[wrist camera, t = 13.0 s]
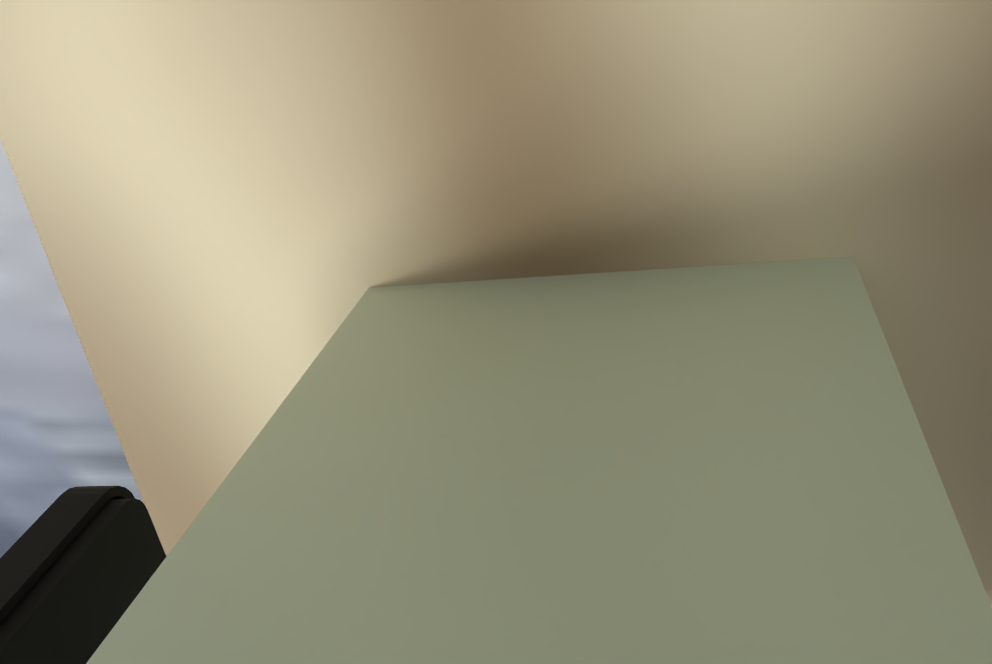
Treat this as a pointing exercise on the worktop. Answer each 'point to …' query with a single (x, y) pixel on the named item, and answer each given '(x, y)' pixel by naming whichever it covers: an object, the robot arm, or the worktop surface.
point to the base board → (487, 183)
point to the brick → (582, 488)
